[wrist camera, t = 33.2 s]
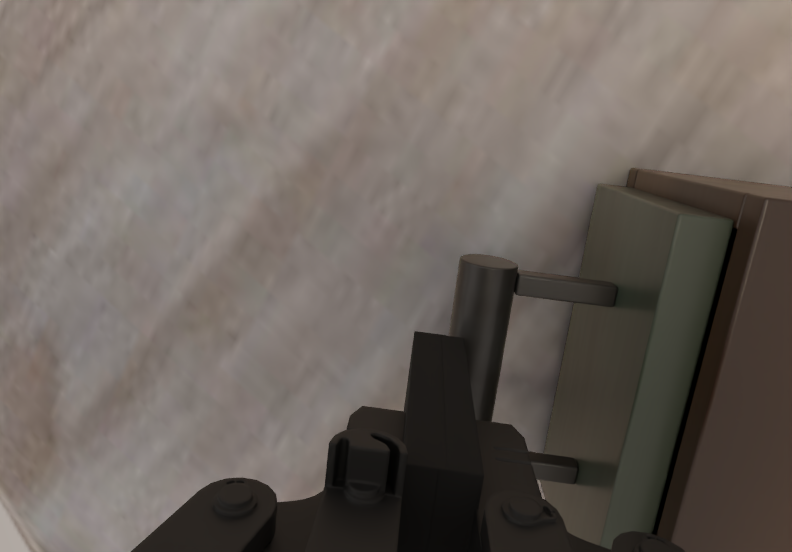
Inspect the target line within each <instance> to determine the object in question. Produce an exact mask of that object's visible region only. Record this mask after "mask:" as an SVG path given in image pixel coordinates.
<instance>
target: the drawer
mask: <svg viewBox="0 0 792 552" xmlns="http://www.w3.org/2000/svg"><path fill="white" fill-rule="evenodd" d="M733 224H734V221H733V220H732V219H729V218H726V217H723V216H720V215H717V214H714V213H711V212H707V211H704V210H701V209H698V208H695V207H692V206H689V205H685V204H682V203H679V202H676V201H673V200H670V199H667V198H663V197H660V196H657V195H654V194H651V193H648V192H645V191H641V190H638V189H635V188H630V187H622V186H614V185H606V184H598V186H597V191H596V196H595V201H594V206H593V211H592V216H591V221H590V226H589V231H588V236H587V240H586V245H585V250H584V255H583V260H582V265H581V270H580V275H579V278H576V277H568V276H561V275H553V274H545V273H537V272H530V271H522V270H518V265H517V264H516V263H514V262H512V261H510V260H507V259H504V258H500V257H495V256H490V255H481V254H468V255H463V256H461V257H460V262H459V269H458V275H457V282H456V289H455V296H454V302H453V309H452V316H451V323H450V330H449V336H453V337H461V338H464V344H465V351H466V357H467V364H468V371H469V377H470V384H471V391H472V397H473V404H474V411H475V417H476V420H480V421H487V422H492V416H493V410H494V404H495V399H496V393H497V387H498V381H499V376H500V370H501V364H502V358H503V353H504V347H505V341H506V335H507V330H508V324H509V318H510V312H511V306H512V301H513V295H514V292H515V294H516V295H520V296H528V297H536V298H543V299H551V300H558V301H566V302H574V305H573V310H572V315H571V320H570V325H569V330H568V335H567V340H566V345H565V350H564V355H563V360H562V365H561V370H560V375H559V380H558V385H557V390H556V395H555V400H554V405H553V410H552V415H551V420H550V425H549V430H548V435H547V440H546V445H545V450H544V454H543V453H536V452H529V451H528V454H529V456H530V459H531V465H532V466H533V470H534V473H535V476H536V479H537V480H540V482H541V485H542V489H543V492H544V496H545V499H546V501H547V502H549V503H550V504H551V505H552V506H553V507H555V508H556V509H557V510H558V512H559V513H560V515H561V517H562V518H563V521H564V524H565V527H566V529H567V532H569V533H570V534H572V535H574V536H576V537H578V538H581V539H583V540H585V541H588V542H591V543H593V544H596V545H599V546H602V547H605V548H607V549H610V550H611V547H612V543H613V540H614V539H615V538H616V537H617V536H618V535H619V534H621V533H626V532H631V531H636V532H645V533H650V534H654V535H656V536H657V532H658V528H659V524H660V520H661V517H662V513H663V509H664V505H665V502H666V498H667V494H668V490H669V486H670V483H671V479H672V475H673V471H674V468H675V464H676V460H677V456H678V452H679V449H680V445H681V441H682V437H683V434H684V430H685V426H686V422H687V418H688V415H689V411H690V407H691V403H692V400H693V396H694V392H695V388H696V384H697V381H698V377H699V373H700V369H701V366H702V362H703V358H704V354H705V350H706V347H707V343H708V339H709V335H710V332H711V328H712V324H713V320H714V317H715V313H716V309H717V305H718V301H719V298H720V294H721V290H722V286H723V283H724V279H725V275H726V271H727V267H728V264H729V260H730V256H731V252H732V249H733V245H734V241H735V237H736V233H737V229H734V228H733Z"/></svg>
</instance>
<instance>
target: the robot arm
mask: <svg viewBox="0 0 792 552" xmlns="http://www.w3.org/2000/svg"><path fill="white" fill-rule="evenodd" d="M131 552H685V551H684V550H683V549H682V548H681V547H679V546H677V545H675V544H674V543H672V542H670V541H668V540H667V539H665V538H663V537H660V536H658V535H657V536H656V535H654V534H650V533H645V532H636V531H631V532H626V533H621V534H619V535H618V536H617V537H616V538H615V539H614V540H613V543H612V547H611V550H610V549H607V548H605V547H602V546H599V545H596V544H593V543H591V542H588V541H585V540H583V539H581V538H578V537H576V536H574V535H572V534H570V533H569V532H567V529H566V527H565V524H564V521H563V518H562V517H561V515H560V513H559V512H558V510H557V509H556V508H555V507H553V506H552V505H551V504H550V503H549V502H547V501H546V500H544V499H542V497H541V493H540V490H539V486H538V483H537V480H536V476H535V473H534V470H533V466H532V465H531V459H530V456H529V454H528V449H527V446H526V443H525V439H524V437H523V436H522V435H521V434H520V433H519V432H518V431H517V430H516V429H515V428H514V427H513V426H512V425H509V424H502V423H495V422H487V421H480V420H476V417H475V411H474V404H473V397H472V391H471V384H470V377H469V371H468V364H467V357H466V351H465V344H464V338H461V337H453V336H446V335H439V334H431V333H424V332H416V331H415V332H414V339H413V347H412V354H411V362H410V369H409V377H408V384H407V391H406V399H405V406H404V412H403V411H395V410H388V409H381V408H374V407H366V406H362V407H361V408H359V409H358V410H357V411H355V412H354V413H353V414H352V415H350V418H349V422H348V425H347V430H345V431H343V432H341V433H339V434H337V435H335V436H334V437H333V438H332V440H331V441H330V442H329V450H328V460H327V469H326V479H325V487H324V490H323V491H322V492H320V493H319V494H317V495H315V496H313V497H310V498H307V499H303V500H297V501H289V502H277V498H276V494H275V493H274V491H273V490H272V489H271V488H270V487H269V486H268V485H266V484H264V483H262V482H260V481H257V480H253V479H247V478H227V479H223V480H220V481H216V482H213V483H210V484H209V485H207V486H206V487H204V488H202V489H201V490H199V491H198V492H197V493H196V494H195V495H194V496H193V497H192V498H190V499H189V500H188V501H187V502H186V503H185V504H184V505H183V506H181V507H180V508H179V509H178V510H177V511H176V512H175V513H174V514H173V515H171V516H170V517H169V518H168V519H167V520H166V521H165V522H164V523H162V524H161V525H160V526H159V527H158V528H157V529H156V530H155V531H154V532H152V533H151V534H150V535H149V536H148V537H147V538H146V539H145V540H143V541H142V542H141V543H140V544H139V545H138V546H137V547H136V548H135V549H133V550H132V551H131Z"/></svg>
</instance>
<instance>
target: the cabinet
mask: <svg viewBox="0 0 792 552" xmlns="http://www.w3.org/2000/svg"><path fill="white" fill-rule="evenodd" d="M627 187H630V188H635V189H638V190H641V191H645V192H648V193H651V194H654V195H657V196H660V197H663V198H667V199H670V200H673V201H676V202H679V203H682V204H685V205H689V206H692V207H695V208H698V209H701V210H704V211H707V212H711V213H714V214H717V215H720V216H723V217H726V218H729V219H732V220H733V221H734V224H733V228H734V229H737V233H736V237H735V241H734V245H733V249H732V252H731V256H730V260H729V264H728V267H727V271H726V275H725V279H724V283H723V286H722V290H721V294H720V298H719V301H718V305H717V309H716V313H715V317H714V320H713V324H712V328H711V332H710V335H709V339H708V343H707V347H706V350H705V354H704V358H703V362H702V366H701V369H700V373H699V377H698V381H697V384H696V388H695V392H694V396H693V400H692V403H691V407H690V411H689V415H688V418H687V422H686V426H685V430H684V434H683V437H682V441H681V445H680V449H679V452H678V456H677V460H676V464H675V468H674V471H673V475H672V479H671V483H670V486H669V490H668V494H667V498H666V502H665V505H664V509H663V513H662V517H661V520H660V524H659V528H658V532H657V535H658V536H660V537H663V538H665V539H667V540H668V541H670V542H672V543H674V544H675V545H677V546H679V547H681V548H682V549H683V550H684V551H685V552H792V187H787V186H778V185H770V184H762V183H754V182H746V181H737V180H729V179H721V178H713V177H704V176H696V175H688V174H680V173H672V172H663V171H655V170H647V169H639V168H631V170H630V173H629V178H628V183H627Z"/></svg>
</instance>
